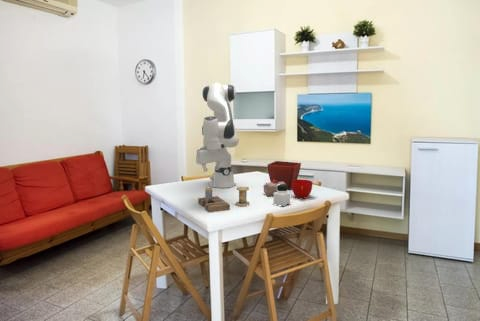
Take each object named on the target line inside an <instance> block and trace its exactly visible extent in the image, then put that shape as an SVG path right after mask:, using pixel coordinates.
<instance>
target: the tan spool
mask: <svg viewBox="0 0 480 321" xmlns="http://www.w3.org/2000/svg"><path fill="white" fill-rule="evenodd" d="M236 190H237V191H238V201H236V202H235V206H237V205H238V206H237V207H248V206H250V205H249V204H250V202H249V201H247V196H248V195H247V191H249V190H250V187H249V186H243V185H242V186H237V187H236ZM247 205H248V206H247Z"/></svg>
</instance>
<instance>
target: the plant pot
mask: <svg viewBox="0 0 480 321" xmlns="http://www.w3.org/2000/svg"><path fill="white" fill-rule="evenodd" d="M301 166H302V162H295V161H294V162H293V161H282V160H274V161H272V162H270V163H268V164H267V171H268V176H269V177H268V178H269V182H272V181H273V180H275V181H276V180H277V181H278V182H284V183H286V185H287V191H288V190H289V191H290V190H292V181H293V180H298V178H299V175H300V170H301Z"/></svg>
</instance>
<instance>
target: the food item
mask: <svg viewBox="0 0 480 321" xmlns="http://www.w3.org/2000/svg"><path fill="white" fill-rule="evenodd" d="M278 184H286V183H284V182H278V181H277V180H276V181H275V180H273V181H272V182H271V181H269V182H265V183H264V184H263V193H264V194H265V195H266V196H267V197H274V193H275V192H277V185H278Z"/></svg>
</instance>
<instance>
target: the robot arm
mask: <svg viewBox="0 0 480 321" xmlns="http://www.w3.org/2000/svg"><path fill="white" fill-rule="evenodd" d="M236 95H237V92H236V88H235V86H234V85H232V84H221V83H220V82H213V83H212V84H211V85H207V86H205V87H204V88H203V89H202V93H201V96H202V98H203V101H204V102H206V106H208V108H209V109H210V110H211V111H213V116H206V117H204V118H203V122H202V127H201V134H202V136H203V140H202V141H203V142H202V145H203V146H202V147H198V149H196V158H195V163H196V165H201V167H202V168H203V172H204V173H206V172H208V167H206V166H207V165H206V164H210V163H215V166H214V172H213V173H212V174H211V176H210V177H209V179H210V180H209V181H207V183H208V185H209V186H210V188H217V189H218V188H219V189H222V188H223V189H226V188H228V189H229V188H233V187H234V186H236V185H237V184H236V182H235V176H234V173H233V172H232V171H233V167H232V155H231V153H230V152H229V151H228V149H230V148H235V147H237V146H238V145H239V141H240V138H239V135H238V134H237V133H236V126H235V124H234V120H233V115H232V109H231V105H230V103H231V102H232V101H234V100H235V99H236ZM227 148H228V149H227Z"/></svg>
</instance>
